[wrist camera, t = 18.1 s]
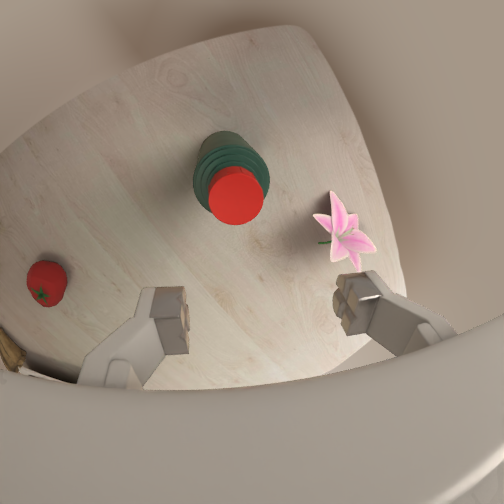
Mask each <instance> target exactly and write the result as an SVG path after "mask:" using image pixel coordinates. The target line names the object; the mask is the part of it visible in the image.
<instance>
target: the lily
mask: <svg viewBox="0 0 504 504" xmlns="http://www.w3.org/2000/svg"><path fill="white" fill-rule="evenodd" d="M330 198H331V207H332V217H331V216H329V215H324V214H314V215H313V216H314V218H315V219H316V220H317V221H318V222H319V223H320V224H321V225H322V226H323V227H324V228H325V229H326V230H327V231H328V232H329V233H330V234H331V235H332V240H331V241H327V242H318V244H327V243H331V242H332V243H331V252H330V259H331V261H332V262H337V261H340V260H342V259H345V258H347V257H349V259H350V260H351V262H352V264H353V265H354V267H355V269H356V270H357V272H358V273H359V272H361V259H360V254H359V253H376V252H377V250H376V247H375V246H374V244H373V243H372V241H371V240H370V239H369V238H368V236H366V235H365V234H364V233H363V232H362V231H360V230H358V228H359V219H358V215H357V214H349V215H348V214H347V211H346V209H345V207H344V205H343V204H342V202H341V201H340V199H339V198H338V197H337V196H336V194H335V193H334V192H333V191H331V190H330Z"/></svg>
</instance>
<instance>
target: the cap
mask: <svg viewBox="0 0 504 504" xmlns="http://www.w3.org/2000/svg"><path fill="white" fill-rule="evenodd" d="M208 193H209V207H210V209H211V212H212V213H213V215H214V216H215V217H216V218H217V219H218V220H220V221H222V222H223V223H226V224H230V225H241V224H244V223H247V222H249V221H251V220H252V219H254V218H255V217H256V216H257V215H258V213H259V212H260V210H261V208H262V205H263V200H264V197H263V190H262V188H261V186H260V185H259V183H258V181H257V180H256V178H255V176H254V175H253V173H252V172H250V171H248V170H247V169H245V168H242V167H241V166H240V167H238V166H231V167H226V168H224V169H222V170H220V171H219V172H217V173H216V174H215V175H214V177H213V178H212V180H211V182H210V185H209V186H208Z"/></svg>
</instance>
